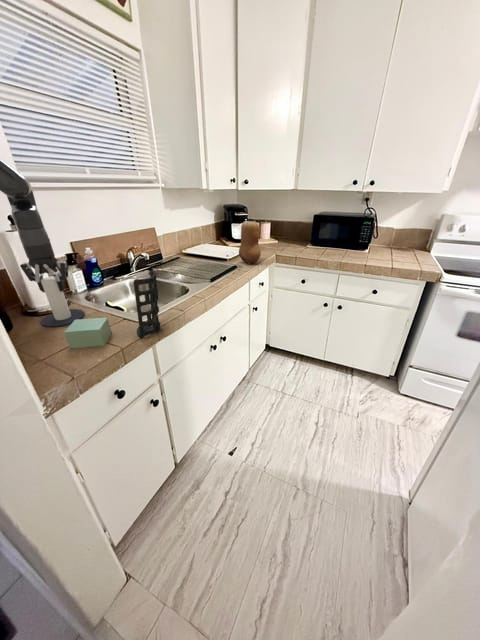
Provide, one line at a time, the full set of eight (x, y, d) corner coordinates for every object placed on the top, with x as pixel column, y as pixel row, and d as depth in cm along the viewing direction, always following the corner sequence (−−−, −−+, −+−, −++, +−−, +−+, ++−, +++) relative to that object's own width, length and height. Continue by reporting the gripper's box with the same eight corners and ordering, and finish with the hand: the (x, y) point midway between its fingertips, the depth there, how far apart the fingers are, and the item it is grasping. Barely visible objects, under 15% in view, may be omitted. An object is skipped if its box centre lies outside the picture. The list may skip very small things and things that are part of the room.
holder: (141, 321, 94) (137, 268, 85) (163, 322, 95) (160, 270, 86) (133, 338, 85) (127, 280, 75) (157, 339, 86) (153, 282, 76)
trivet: (33, 329, 91) (32, 327, 90) (52, 311, 103) (52, 310, 103) (76, 326, 92) (75, 324, 92) (90, 309, 105) (89, 307, 104)
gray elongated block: (58, 323, 98) (33, 311, 85) (61, 289, 102) (38, 272, 89) (72, 322, 99) (50, 310, 85) (75, 288, 103) (54, 271, 89)
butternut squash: (264, 262, 165) (266, 221, 153) (251, 267, 156) (252, 223, 144) (247, 259, 173) (248, 219, 161) (234, 263, 164) (233, 221, 152)
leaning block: (70, 348, 80) (64, 332, 77) (80, 335, 87) (74, 319, 84) (104, 346, 81) (99, 329, 78) (111, 333, 88) (107, 317, 85)
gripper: (4, 245, 80) (25, 296, 88) (54, 244, 82) (71, 293, 90) (18, 241, 87) (37, 288, 95) (65, 239, 89) (79, 286, 97)
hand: (53, 290), depth 92 cm, fingers closed on gray elongated block, 5 cm apart
